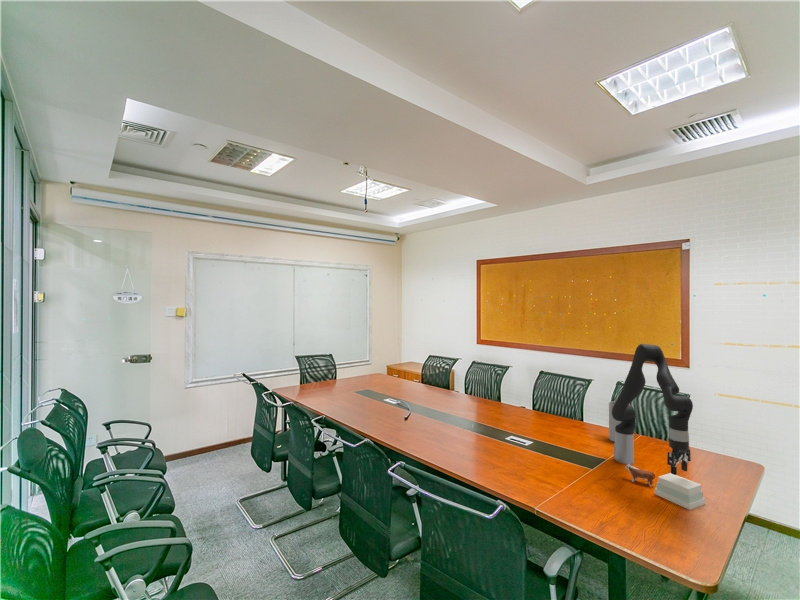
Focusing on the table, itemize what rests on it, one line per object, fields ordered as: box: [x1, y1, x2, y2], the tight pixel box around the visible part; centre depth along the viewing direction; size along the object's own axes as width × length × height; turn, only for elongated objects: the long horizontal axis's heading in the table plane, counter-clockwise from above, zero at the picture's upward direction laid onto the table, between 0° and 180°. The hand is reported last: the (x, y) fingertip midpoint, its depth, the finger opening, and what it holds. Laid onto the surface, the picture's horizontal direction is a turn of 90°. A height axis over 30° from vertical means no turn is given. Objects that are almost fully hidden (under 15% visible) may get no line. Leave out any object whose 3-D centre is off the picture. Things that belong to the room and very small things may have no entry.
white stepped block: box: [654, 472, 706, 511], centre depth 171 cm, size 15×12×9 cm
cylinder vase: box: [608, 400, 631, 443], centre depth 245 cm, size 12×12×25 cm
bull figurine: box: [624, 464, 656, 488], centre depth 187 cm, size 4×13×8 cm, turn 43°
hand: (679, 472), depth 171 cm, fingers open, 8 cm apart
